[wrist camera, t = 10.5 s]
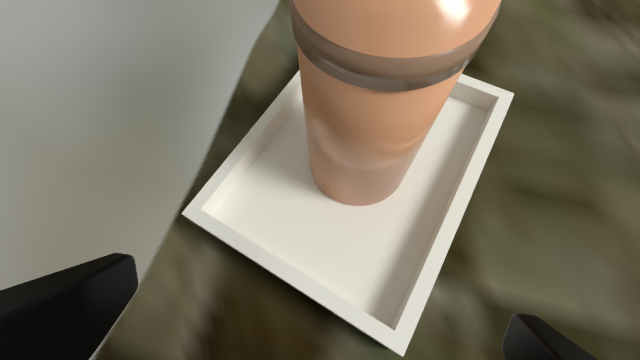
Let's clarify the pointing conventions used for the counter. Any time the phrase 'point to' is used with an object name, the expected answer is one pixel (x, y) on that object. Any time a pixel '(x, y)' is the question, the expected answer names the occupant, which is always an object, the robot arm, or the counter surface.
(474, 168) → the tray
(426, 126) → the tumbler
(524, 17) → the counter surface
